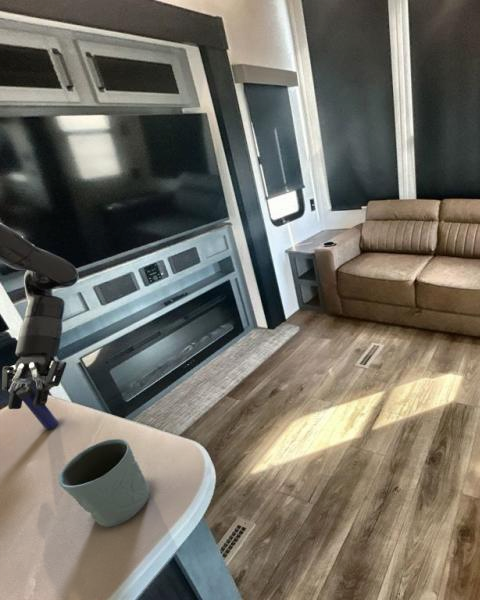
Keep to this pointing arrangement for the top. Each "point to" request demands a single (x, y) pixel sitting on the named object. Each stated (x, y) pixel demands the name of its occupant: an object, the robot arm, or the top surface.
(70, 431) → the top surface
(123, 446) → the grey-green cup
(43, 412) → the marker
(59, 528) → the top surface
